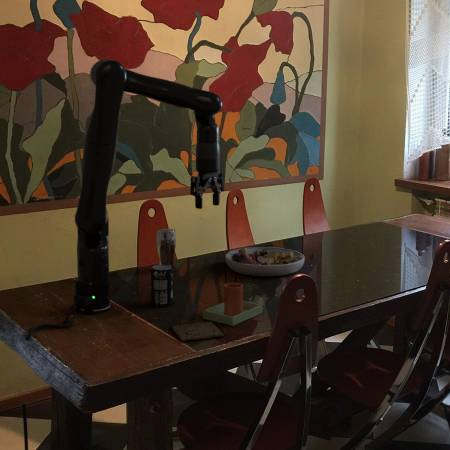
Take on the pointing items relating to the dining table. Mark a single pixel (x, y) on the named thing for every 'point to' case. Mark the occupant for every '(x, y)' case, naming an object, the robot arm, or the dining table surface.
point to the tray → (218, 316)
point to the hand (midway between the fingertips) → (207, 206)
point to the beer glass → (166, 247)
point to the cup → (233, 299)
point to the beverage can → (161, 285)
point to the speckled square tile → (197, 331)
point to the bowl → (264, 261)
